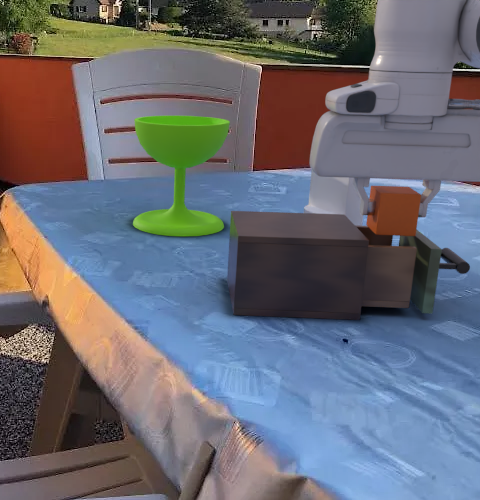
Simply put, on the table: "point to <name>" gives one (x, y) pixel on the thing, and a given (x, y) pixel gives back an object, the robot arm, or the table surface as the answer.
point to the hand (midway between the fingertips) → (391, 215)
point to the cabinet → (296, 265)
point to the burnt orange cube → (394, 210)
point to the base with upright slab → (334, 197)
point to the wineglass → (180, 168)
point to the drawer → (405, 270)
